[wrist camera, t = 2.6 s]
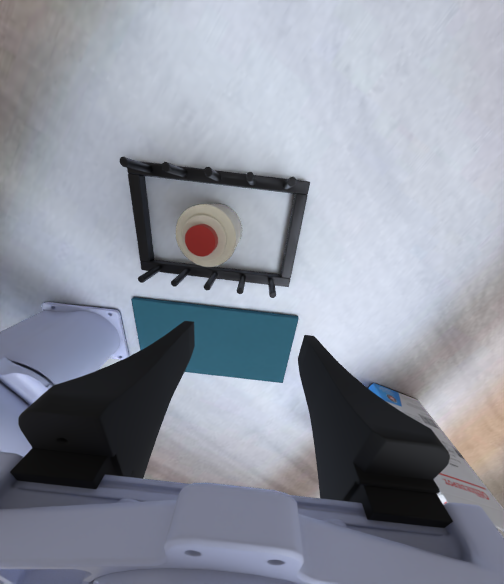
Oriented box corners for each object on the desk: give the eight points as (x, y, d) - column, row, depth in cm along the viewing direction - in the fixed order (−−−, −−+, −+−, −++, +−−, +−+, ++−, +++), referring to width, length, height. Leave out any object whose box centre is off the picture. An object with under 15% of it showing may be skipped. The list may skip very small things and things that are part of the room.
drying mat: (145, 364, 28) (143, 367, 28) (134, 296, 23) (131, 299, 23) (282, 379, 28) (282, 383, 28) (297, 315, 24) (298, 318, 23)
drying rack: (146, 267, 22) (119, 282, 18) (132, 161, 18) (93, 149, 13) (287, 283, 22) (293, 302, 18) (307, 182, 18) (321, 177, 14)
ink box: (351, 402, 30) (424, 566, 16) (372, 381, 28) (476, 549, 14) (396, 418, 31) (500, 584, 17) (420, 399, 29) (557, 571, 15)
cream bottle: (195, 250, 21) (168, 269, 15) (194, 200, 19) (163, 200, 13) (240, 255, 21) (231, 277, 15) (244, 206, 19) (236, 208, 13)
